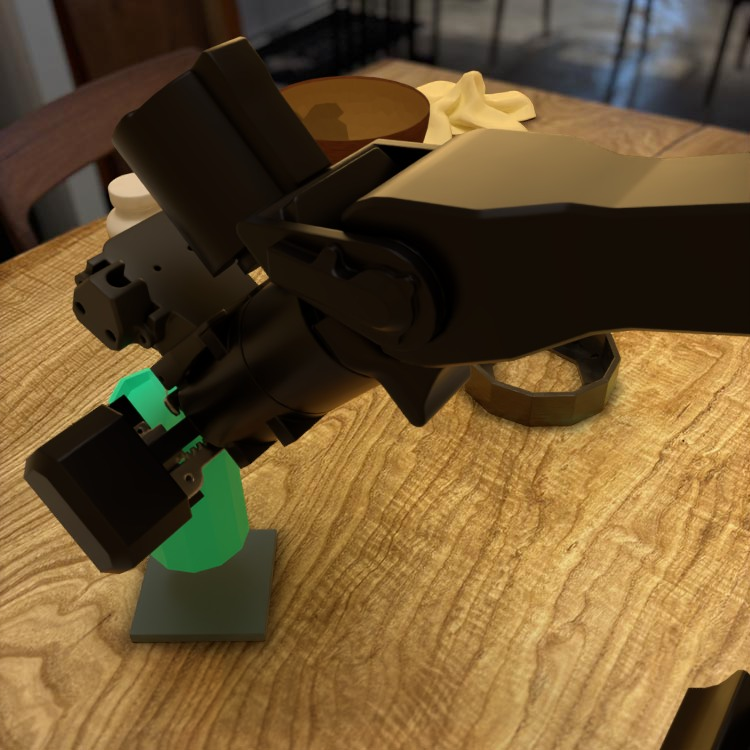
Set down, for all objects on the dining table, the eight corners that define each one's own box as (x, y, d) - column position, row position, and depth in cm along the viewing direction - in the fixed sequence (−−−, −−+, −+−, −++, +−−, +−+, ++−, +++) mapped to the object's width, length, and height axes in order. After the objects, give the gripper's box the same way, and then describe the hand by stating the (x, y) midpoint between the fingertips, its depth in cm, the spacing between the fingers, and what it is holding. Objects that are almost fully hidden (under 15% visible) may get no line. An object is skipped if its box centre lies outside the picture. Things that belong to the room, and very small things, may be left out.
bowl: (416, 238, 87) (418, 145, 81) (249, 226, 90) (238, 135, 83) (436, 163, 100) (439, 79, 94) (291, 155, 103) (284, 72, 97)
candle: (125, 551, 49) (75, 392, 42) (186, 483, 53) (150, 327, 46) (212, 587, 47) (175, 425, 40) (268, 513, 51) (244, 354, 44)
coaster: (277, 536, 57) (276, 528, 56) (265, 641, 51) (264, 633, 50) (157, 538, 57) (155, 529, 56) (131, 642, 51) (128, 634, 50)
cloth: (408, 85, 120) (408, 40, 116) (541, 94, 117) (546, 48, 113) (374, 151, 103) (373, 101, 100) (528, 164, 100) (533, 113, 96)
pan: (628, 424, 65) (635, 394, 63) (470, 427, 65) (473, 397, 63) (560, 237, 87) (564, 210, 85) (442, 239, 87) (443, 213, 85)
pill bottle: (200, 278, 82) (181, 165, 74) (190, 317, 77) (169, 200, 69) (132, 280, 82) (106, 167, 74) (118, 319, 77) (89, 202, 69)
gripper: (325, 108, 40) (193, 249, 52) (-25, 291, 28) (-90, 419, 40) (464, 301, 41) (304, 395, 53) (185, 554, 29) (60, 601, 41)
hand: (162, 441), depth 47 cm, fingers closed on candle, 5 cm apart
